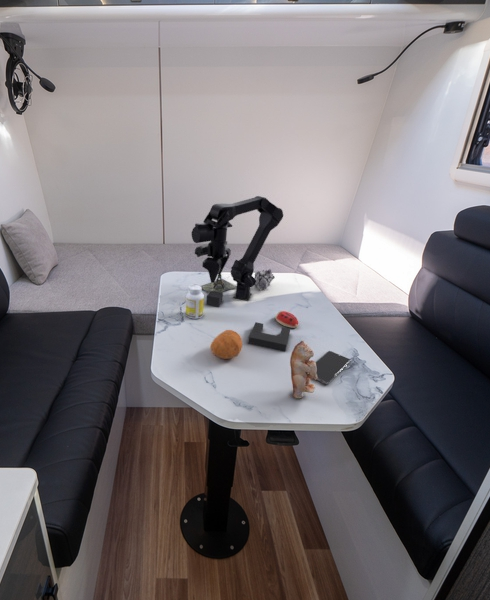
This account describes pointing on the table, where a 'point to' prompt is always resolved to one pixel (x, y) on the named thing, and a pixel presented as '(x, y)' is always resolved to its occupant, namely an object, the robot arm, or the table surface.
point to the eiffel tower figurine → (218, 285)
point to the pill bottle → (194, 302)
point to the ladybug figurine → (287, 319)
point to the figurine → (302, 370)
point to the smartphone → (330, 366)
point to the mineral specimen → (263, 279)
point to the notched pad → (269, 338)
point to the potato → (227, 344)
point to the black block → (214, 298)
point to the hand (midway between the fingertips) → (215, 278)
